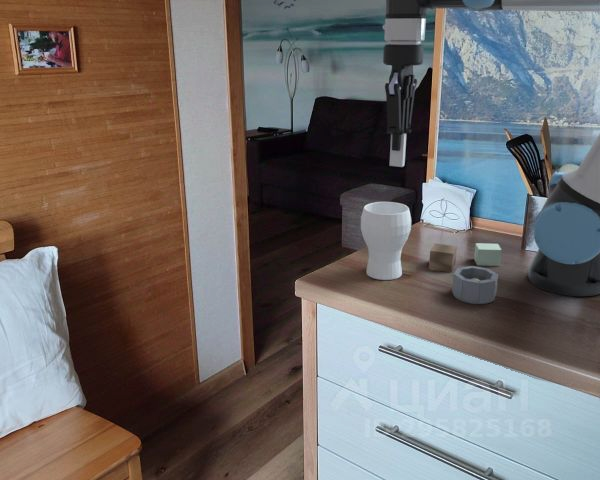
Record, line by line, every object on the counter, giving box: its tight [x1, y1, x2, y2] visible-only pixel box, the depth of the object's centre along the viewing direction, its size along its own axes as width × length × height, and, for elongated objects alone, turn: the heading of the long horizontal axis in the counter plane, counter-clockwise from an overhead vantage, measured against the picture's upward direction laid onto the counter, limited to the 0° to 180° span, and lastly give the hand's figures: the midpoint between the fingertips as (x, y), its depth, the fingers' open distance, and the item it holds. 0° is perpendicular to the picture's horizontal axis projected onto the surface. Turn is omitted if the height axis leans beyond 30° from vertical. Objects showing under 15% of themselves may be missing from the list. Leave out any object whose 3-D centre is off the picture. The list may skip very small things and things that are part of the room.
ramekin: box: [451, 265, 499, 305], centre depth 115 cm, size 8×8×5 cm
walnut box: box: [428, 243, 458, 273], centre depth 129 cm, size 5×5×4 cm
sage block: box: [473, 242, 503, 267], centre depth 131 cm, size 5×4×4 cm
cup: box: [360, 201, 412, 281], centre depth 124 cm, size 11×11×15 cm
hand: (396, 165), depth 117 cm, fingers closed
